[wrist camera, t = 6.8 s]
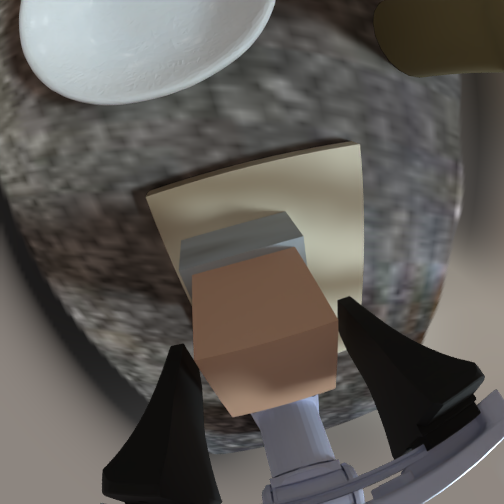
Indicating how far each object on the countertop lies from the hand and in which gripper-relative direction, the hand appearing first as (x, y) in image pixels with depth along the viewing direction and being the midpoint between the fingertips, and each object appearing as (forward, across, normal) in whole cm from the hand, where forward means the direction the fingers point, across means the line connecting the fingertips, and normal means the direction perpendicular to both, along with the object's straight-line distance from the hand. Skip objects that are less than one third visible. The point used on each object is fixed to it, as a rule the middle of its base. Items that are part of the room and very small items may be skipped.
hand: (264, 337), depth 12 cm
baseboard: (+7, -2, +3) cm, 8 cm away
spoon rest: (+7, +1, -22) cm, 24 cm away
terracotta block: (+3, 0, 0) cm, 3 cm away
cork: (+7, -14, -13) cm, 20 cm away
